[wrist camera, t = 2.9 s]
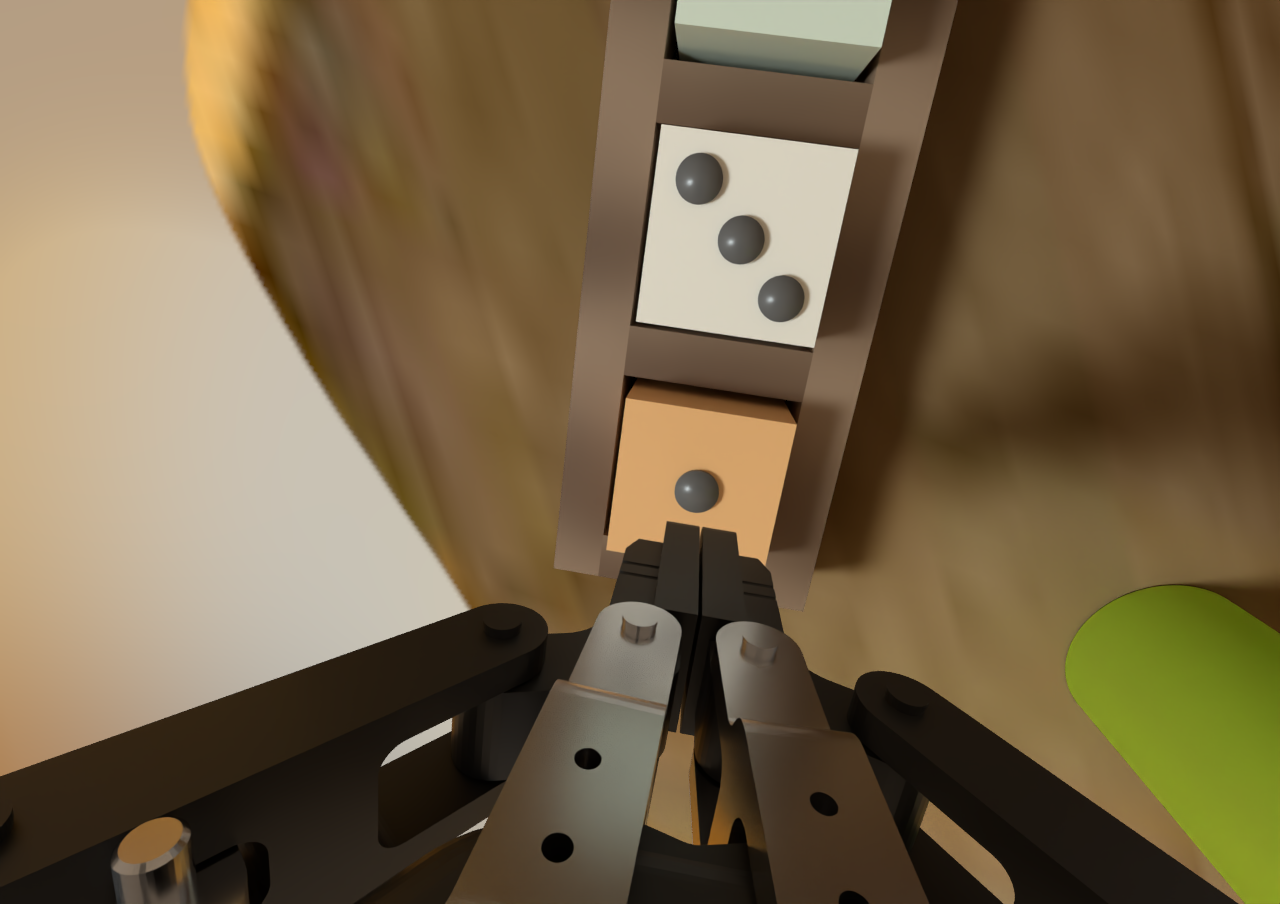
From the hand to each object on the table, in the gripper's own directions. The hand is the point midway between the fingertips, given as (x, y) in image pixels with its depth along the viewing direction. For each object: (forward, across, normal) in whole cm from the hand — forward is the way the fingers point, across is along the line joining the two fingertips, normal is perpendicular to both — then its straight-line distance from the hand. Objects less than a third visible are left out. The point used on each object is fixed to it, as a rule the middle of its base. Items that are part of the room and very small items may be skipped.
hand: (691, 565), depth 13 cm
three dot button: (+8, 0, -7) cm, 10 cm away
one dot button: (+8, 0, 0) cm, 8 cm away
